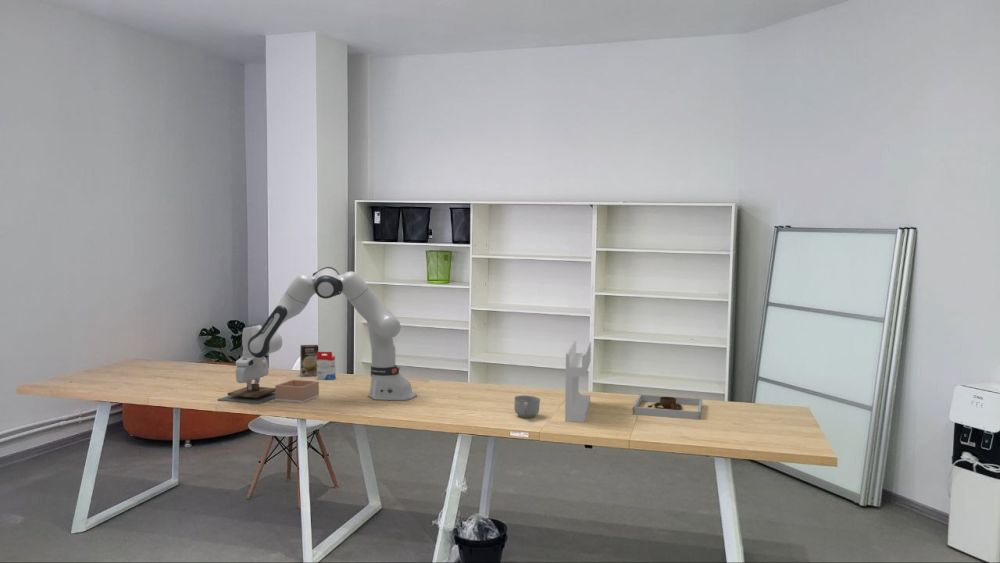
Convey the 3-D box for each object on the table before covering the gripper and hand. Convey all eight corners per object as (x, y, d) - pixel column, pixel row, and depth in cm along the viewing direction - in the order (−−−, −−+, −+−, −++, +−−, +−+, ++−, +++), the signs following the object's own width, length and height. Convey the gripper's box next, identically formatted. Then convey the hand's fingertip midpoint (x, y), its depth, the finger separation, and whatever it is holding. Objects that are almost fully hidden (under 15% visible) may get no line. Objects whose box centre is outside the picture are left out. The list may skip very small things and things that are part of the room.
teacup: (518, 412, 321) (518, 393, 320) (542, 414, 318) (542, 395, 317) (509, 420, 307) (509, 401, 307) (534, 422, 304) (534, 403, 304)
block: (572, 401, 340) (573, 341, 338) (589, 402, 339) (590, 341, 337) (565, 421, 306) (565, 354, 304) (584, 422, 304) (585, 354, 302)
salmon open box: (318, 396, 348) (318, 381, 348) (302, 402, 335) (302, 387, 334) (292, 394, 352) (292, 379, 352) (275, 400, 339) (275, 385, 338)
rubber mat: (287, 393, 353) (287, 392, 353) (259, 404, 332) (259, 402, 332) (247, 390, 359) (247, 389, 359) (217, 400, 338) (217, 399, 338)
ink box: (335, 378, 389) (335, 350, 388) (332, 380, 384) (332, 352, 383) (319, 377, 390) (319, 350, 389) (316, 379, 385) (316, 351, 384)
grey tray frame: (702, 405, 335) (702, 398, 335) (700, 419, 310) (700, 412, 310) (639, 400, 343) (639, 394, 343) (632, 414, 318) (632, 407, 318)
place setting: (691, 409, 330) (692, 395, 330) (677, 418, 313) (677, 405, 313) (653, 403, 339) (654, 391, 339) (638, 413, 322) (638, 399, 322)
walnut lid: (278, 390, 351) (278, 381, 351) (257, 397, 336) (257, 389, 335) (249, 388, 356) (248, 379, 355) (227, 395, 340) (227, 386, 340)
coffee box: (300, 377, 391) (300, 346, 390) (300, 374, 397) (299, 345, 396) (318, 376, 394) (318, 346, 393) (317, 373, 400) (317, 344, 399)
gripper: (260, 355, 355) (260, 383, 356) (233, 362, 336) (233, 392, 337) (271, 355, 353) (272, 384, 354) (244, 363, 334) (245, 393, 335)
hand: (253, 388), depth 345 cm, fingers closed on walnut lid, 2 cm apart
